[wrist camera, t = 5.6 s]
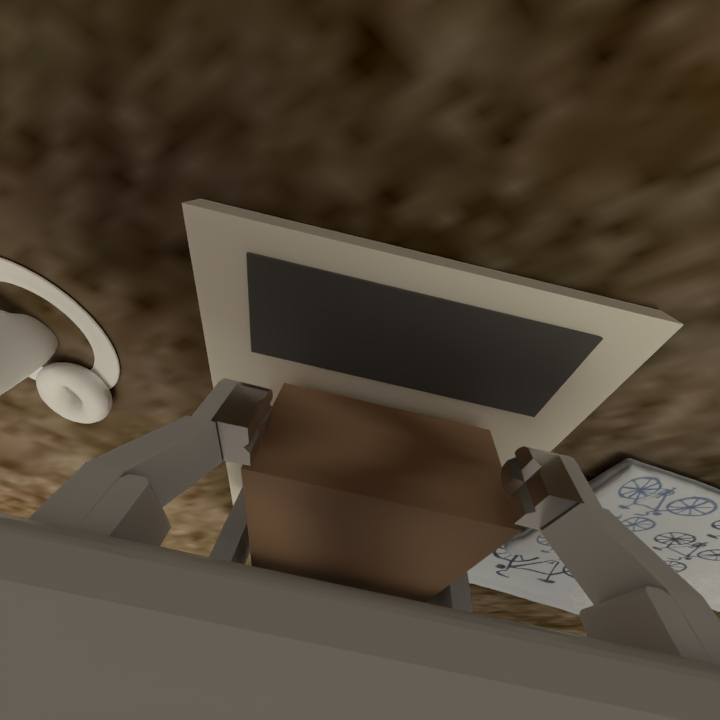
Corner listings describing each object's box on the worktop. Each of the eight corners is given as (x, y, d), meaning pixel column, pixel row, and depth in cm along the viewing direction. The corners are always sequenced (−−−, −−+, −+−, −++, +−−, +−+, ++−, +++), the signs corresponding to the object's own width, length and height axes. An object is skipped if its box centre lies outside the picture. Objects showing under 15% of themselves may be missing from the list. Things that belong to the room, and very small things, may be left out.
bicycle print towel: (888, 538, 16) (945, 583, 15) (597, 609, 28) (610, 638, 27) (619, 437, 14) (650, 476, 12) (427, 560, 26) (428, 589, 24)
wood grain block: (490, 429, 12) (521, 530, 9) (407, 538, 19) (408, 615, 16) (284, 382, 12) (240, 468, 9) (278, 510, 19) (254, 582, 16)
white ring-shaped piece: (142, 411, 17) (83, 471, 14) (8, 375, 17) (-87, 429, 14) (103, 281, 12) (-7, 329, 9) (-95, 221, 12) (-290, 249, 8)
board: (660, 310, 10) (687, 327, 9) (411, 570, 27) (411, 585, 26) (200, 198, 9) (178, 203, 8) (245, 535, 26) (239, 548, 25)
